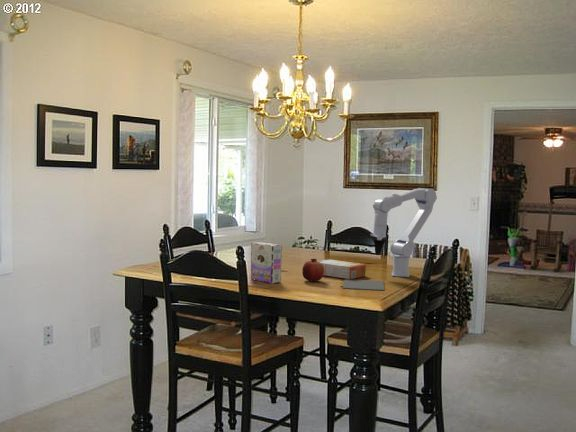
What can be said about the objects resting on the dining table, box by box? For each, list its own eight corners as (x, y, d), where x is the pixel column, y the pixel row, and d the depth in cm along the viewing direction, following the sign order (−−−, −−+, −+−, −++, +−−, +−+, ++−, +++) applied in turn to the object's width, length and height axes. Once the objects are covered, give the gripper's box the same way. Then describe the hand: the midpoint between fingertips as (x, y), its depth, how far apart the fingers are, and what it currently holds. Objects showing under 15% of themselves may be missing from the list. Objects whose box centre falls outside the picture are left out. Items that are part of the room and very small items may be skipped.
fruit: (306, 278, 273) (306, 256, 272) (327, 280, 269) (328, 258, 268) (297, 282, 263) (298, 259, 262) (319, 284, 259) (320, 261, 259)
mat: (344, 280, 272) (344, 279, 272) (383, 282, 270) (383, 281, 270) (342, 288, 252) (342, 287, 252) (384, 290, 250) (384, 289, 250)
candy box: (281, 282, 261) (282, 244, 260) (271, 284, 257) (272, 245, 256) (260, 278, 271) (261, 241, 269) (250, 279, 267) (250, 242, 265)
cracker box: (365, 277, 283) (328, 270, 296) (366, 264, 282) (329, 258, 295) (349, 280, 272) (311, 273, 285) (350, 267, 271) (312, 260, 284)
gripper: (371, 223, 288) (368, 252, 288) (371, 225, 273) (368, 255, 274) (386, 225, 287) (384, 253, 287) (387, 226, 272) (384, 256, 273)
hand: (377, 254), depth 281 cm, fingers closed
